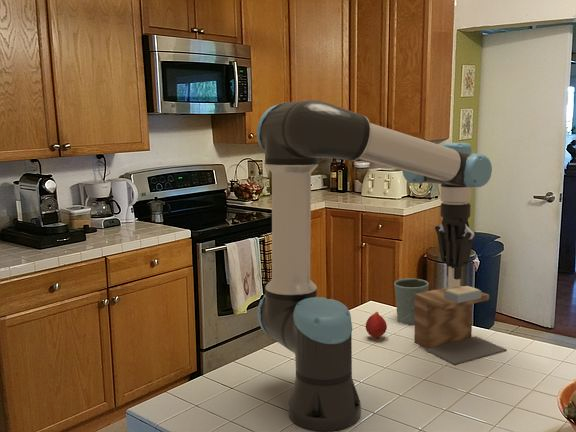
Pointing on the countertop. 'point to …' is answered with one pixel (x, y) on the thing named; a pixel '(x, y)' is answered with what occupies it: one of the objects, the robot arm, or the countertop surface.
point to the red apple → (376, 325)
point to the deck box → (462, 294)
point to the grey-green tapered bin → (408, 298)
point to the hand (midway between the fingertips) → (453, 290)
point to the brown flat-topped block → (442, 318)
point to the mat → (465, 350)
